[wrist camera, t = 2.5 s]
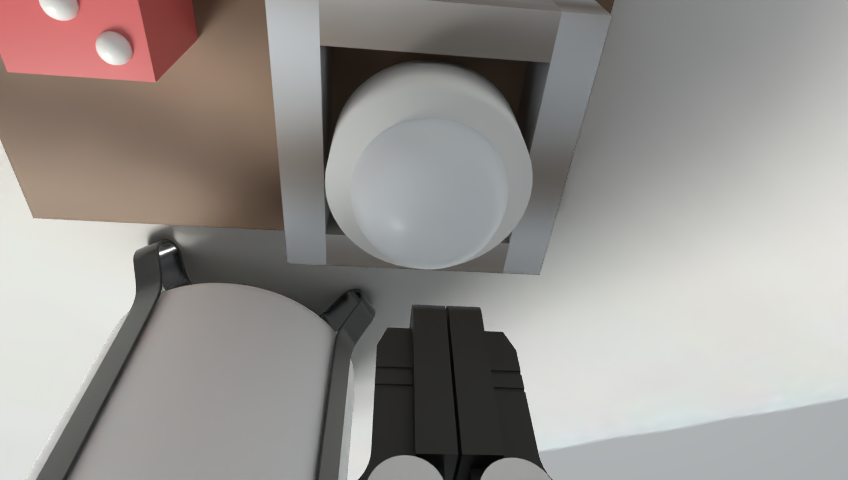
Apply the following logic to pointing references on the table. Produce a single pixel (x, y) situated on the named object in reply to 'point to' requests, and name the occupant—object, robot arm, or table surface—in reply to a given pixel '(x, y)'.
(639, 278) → the table surface
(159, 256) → the coffee press
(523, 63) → the board
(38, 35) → the die
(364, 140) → the dome
